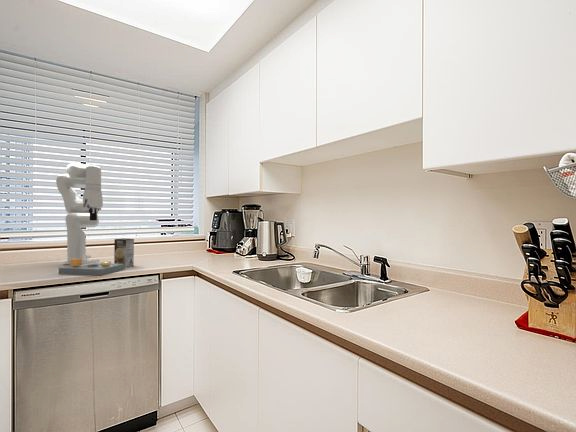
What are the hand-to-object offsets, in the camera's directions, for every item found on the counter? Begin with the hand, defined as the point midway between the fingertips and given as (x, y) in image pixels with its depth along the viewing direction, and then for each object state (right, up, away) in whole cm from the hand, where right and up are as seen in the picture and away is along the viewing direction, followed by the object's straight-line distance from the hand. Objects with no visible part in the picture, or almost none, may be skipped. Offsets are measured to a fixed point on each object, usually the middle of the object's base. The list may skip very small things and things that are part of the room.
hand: (93, 220), depth 174 cm
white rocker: (+6, -23, -10) cm, 26 cm away
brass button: (+14, -24, -11) cm, 30 cm away
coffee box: (+13, -27, +9) cm, 31 cm away
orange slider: (-1, -24, -12) cm, 27 cm away
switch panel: (+6, -27, -10) cm, 30 cm away
